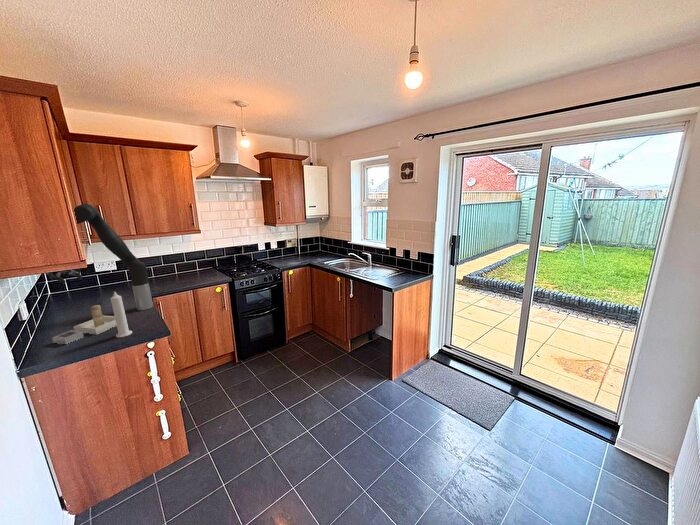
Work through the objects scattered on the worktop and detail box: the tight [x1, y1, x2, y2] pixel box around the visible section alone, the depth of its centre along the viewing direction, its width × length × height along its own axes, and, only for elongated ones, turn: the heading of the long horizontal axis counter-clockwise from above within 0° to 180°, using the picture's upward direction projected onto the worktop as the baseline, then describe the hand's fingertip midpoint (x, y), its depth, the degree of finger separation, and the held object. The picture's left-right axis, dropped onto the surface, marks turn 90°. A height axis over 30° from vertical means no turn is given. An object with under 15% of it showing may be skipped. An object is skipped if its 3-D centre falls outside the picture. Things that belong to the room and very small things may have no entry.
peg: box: [89, 304, 104, 327], centre depth 165 cm, size 4×4×12 cm
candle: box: [110, 291, 133, 339], centre depth 153 cm, size 7×7×25 cm
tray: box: [73, 314, 117, 335], centre depth 166 cm, size 16×16×4 cm
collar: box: [52, 329, 85, 345], centre depth 151 cm, size 8×8×4 cm
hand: (73, 280), depth 163 cm, fingers open, 8 cm apart
